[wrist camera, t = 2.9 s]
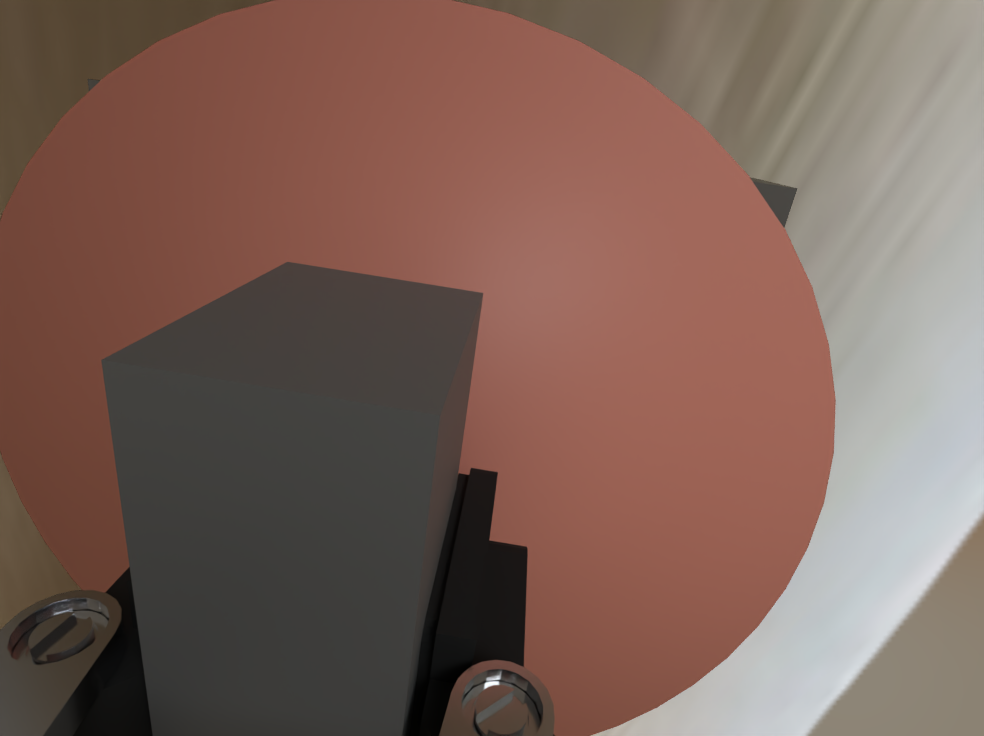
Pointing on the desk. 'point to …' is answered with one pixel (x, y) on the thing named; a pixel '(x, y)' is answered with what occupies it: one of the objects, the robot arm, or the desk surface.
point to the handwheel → (405, 362)
